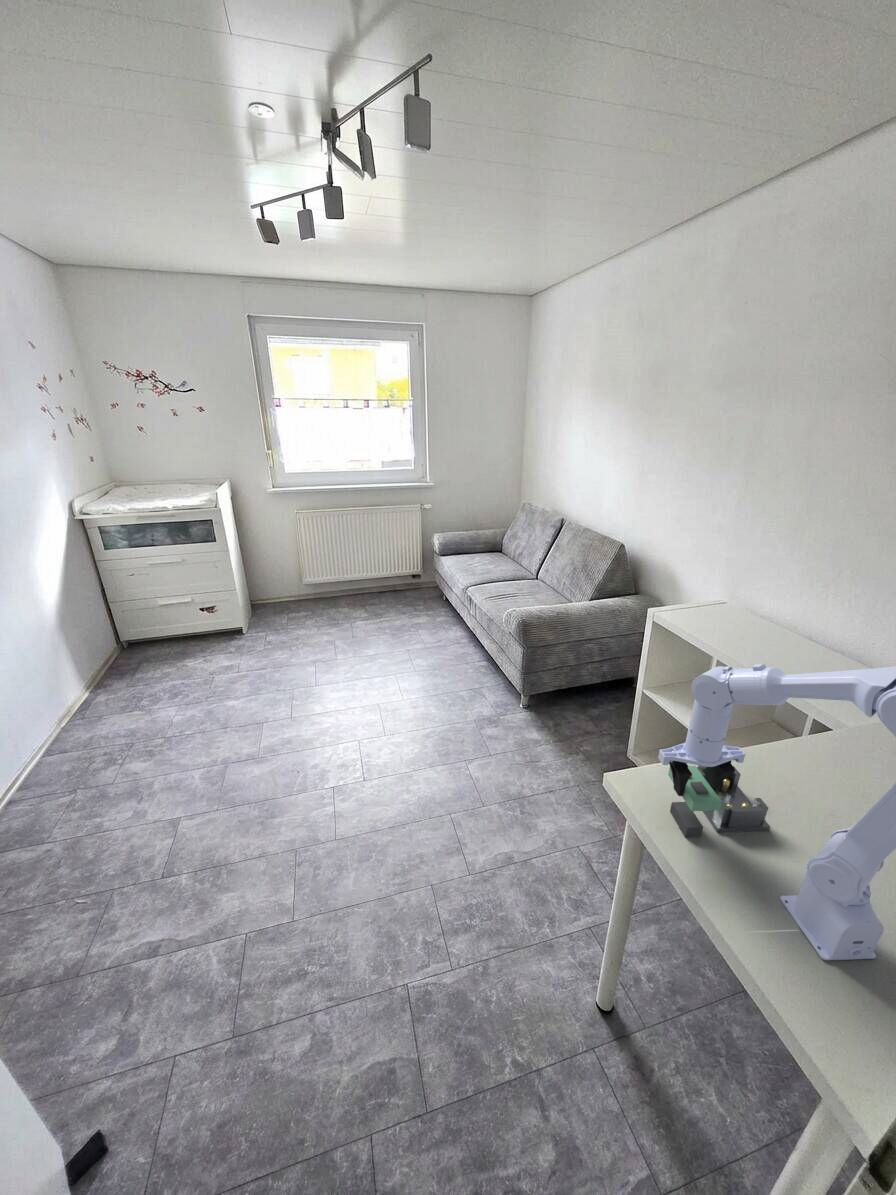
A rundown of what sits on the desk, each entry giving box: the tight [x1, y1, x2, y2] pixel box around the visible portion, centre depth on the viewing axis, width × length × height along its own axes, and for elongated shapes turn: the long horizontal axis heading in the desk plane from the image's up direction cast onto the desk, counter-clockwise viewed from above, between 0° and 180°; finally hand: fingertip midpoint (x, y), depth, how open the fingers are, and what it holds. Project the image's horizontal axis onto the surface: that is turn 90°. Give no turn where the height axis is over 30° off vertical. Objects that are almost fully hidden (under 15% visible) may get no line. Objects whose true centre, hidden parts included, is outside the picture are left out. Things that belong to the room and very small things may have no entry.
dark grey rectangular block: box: [669, 801, 704, 838], centre depth 90 cm, size 6×3×2 cm, turn 2°
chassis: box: [696, 765, 771, 833], centre depth 94 cm, size 10×12×5 cm
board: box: [667, 765, 722, 812], centre depth 87 cm, size 5×9×3 cm, turn 2°
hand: (693, 791), depth 88 cm, fingers closed on board, 5 cm apart
